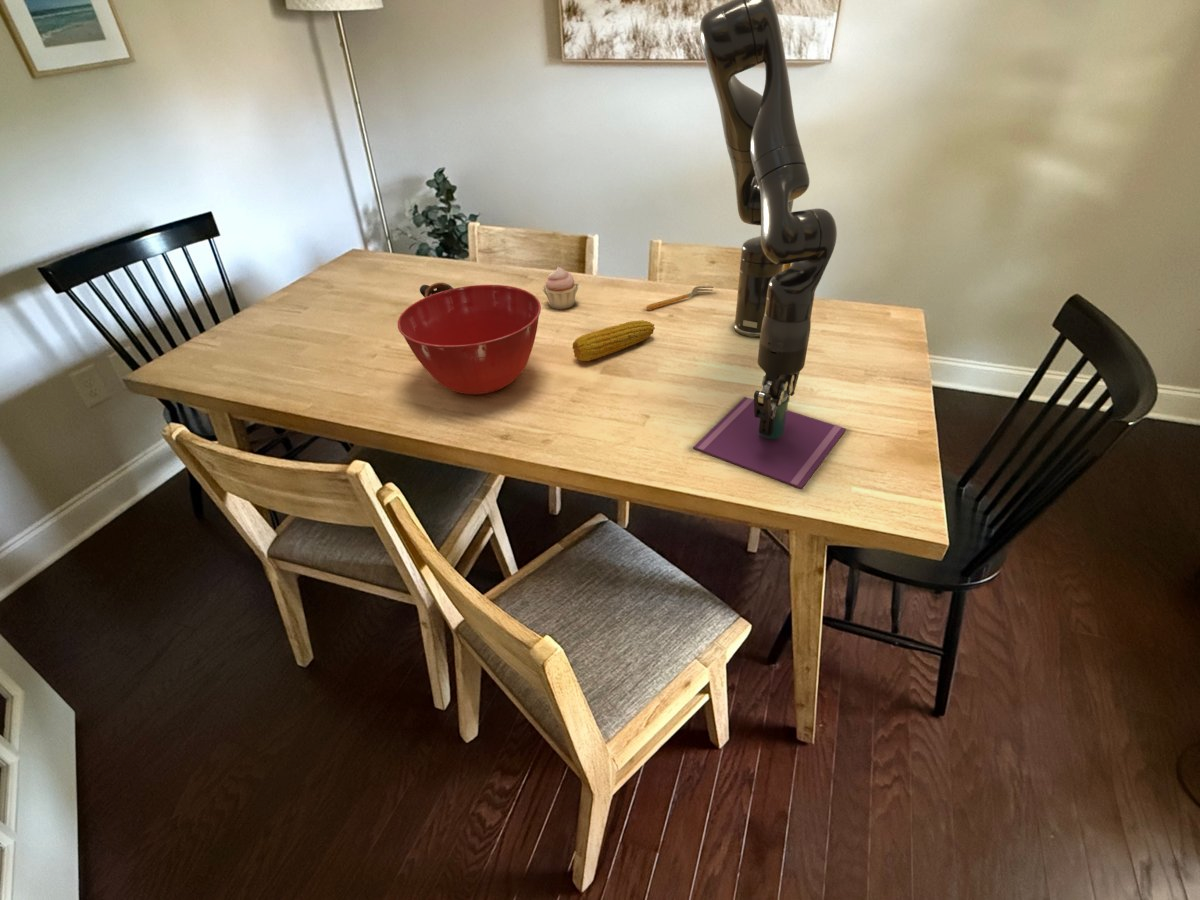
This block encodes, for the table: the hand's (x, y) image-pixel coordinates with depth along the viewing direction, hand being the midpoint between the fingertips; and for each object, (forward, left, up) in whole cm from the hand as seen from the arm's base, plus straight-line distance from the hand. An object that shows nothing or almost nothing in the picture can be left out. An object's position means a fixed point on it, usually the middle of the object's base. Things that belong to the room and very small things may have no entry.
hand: (771, 426), depth 113 cm
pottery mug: (-7, -95, -3) cm, 95 cm away
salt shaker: (0, 0, -1) cm, 1 cm away
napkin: (0, 0, -3) cm, 3 cm away
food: (-13, -44, -3) cm, 46 cm away
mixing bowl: (+13, -60, -3) cm, 61 cm away
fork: (-44, -45, -3) cm, 63 cm away
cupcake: (-26, -70, -3) cm, 75 cm away
